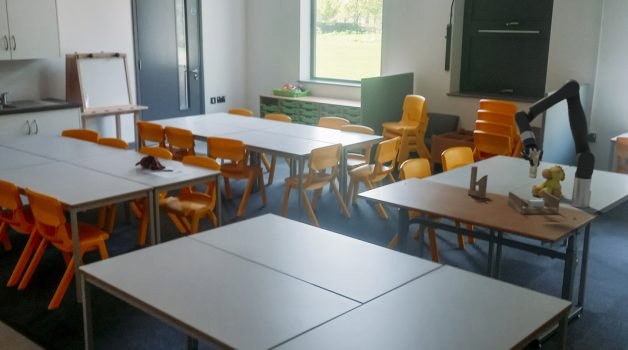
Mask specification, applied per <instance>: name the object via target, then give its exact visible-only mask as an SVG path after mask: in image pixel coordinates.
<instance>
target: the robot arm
mask: <svg viewBox="0 0 628 350" xmlns="http://www.w3.org/2000/svg"><path fill="white" fill-rule="evenodd" d="M580 90H581V85H580V83H579V82H578V80H575V79H573V78H570V79H567V80H565V81H564V82H563V84H562V86H561V87H560V88H559V89H557V90H556V91H555V92H553V93H551V94H549V95H548V96H546V97H543V98H541V99H540V100H537V101H536V102H534V103H533V104H531V105H530V106H529V108H528V109H529V111H528V112H526V111H524V110H523V109H519V110H517V111H516V112H515V113H514V121H515V123H516V126H517V127H518V130H519V135H520V140H521V143H522V147H523V148H522V150H521V151H520V153H519V155H521V156H522V158H523V159H524V160H525V161H528V162H529V166H530V165H531V167H533V166H534V163H533V159H532V151H537V152H539V157H538V165H537V168H539V166H540V165H541V164H540V161H541V159H542V158H543V154H544V150H540V149H539V148H538V144H537V140H536V137H535V134H534V131H533V127H532V126H531V124H530V123H532V122H533V121H534V120H535V119H536V118H537V117H538V116H539V115H541V114H543V113H544V112H546V111H547V110H549V109H550V108H553V107H554V106H556V105H557V104H558V103H560V102H562V101H564V100H566V103H567V115H568V122H569V128H570V132H571V136H572V138H573V139H572V140H573V141H574V148H575V160H576V162H577V164H576V169H575V170H576V171H575V172H574V178H573V186H572V187H573V188H572V195H571V202H570V204H571V206H572V207H575V208H581V209H582V208H583V209H584V208H590V204H591V196H592V191H591V185H592V184H591V183H592V178H593V174H594V169H595V162H596V157H595V155H594V153H593V152H592V151H591V148H590V146H589V145H590V144H589V140H588V137H589V136H588V133H589V132H588V130H589V129H588V122H587V117H586V113H585V110H584V107H583V105H582V101H581V95H580V94H581V93H580Z"/></svg>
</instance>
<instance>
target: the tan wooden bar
mask: <svg viewBox="0 0 628 350" xmlns="http://www.w3.org/2000/svg"><path fill="white" fill-rule="evenodd" d="M538 157H539V152H537V151H532V159H533V163H534V166H533V167H531V165H530V164H529V175H528V177H529V178H531V179H537V173H538V167H537V165H538Z"/></svg>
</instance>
